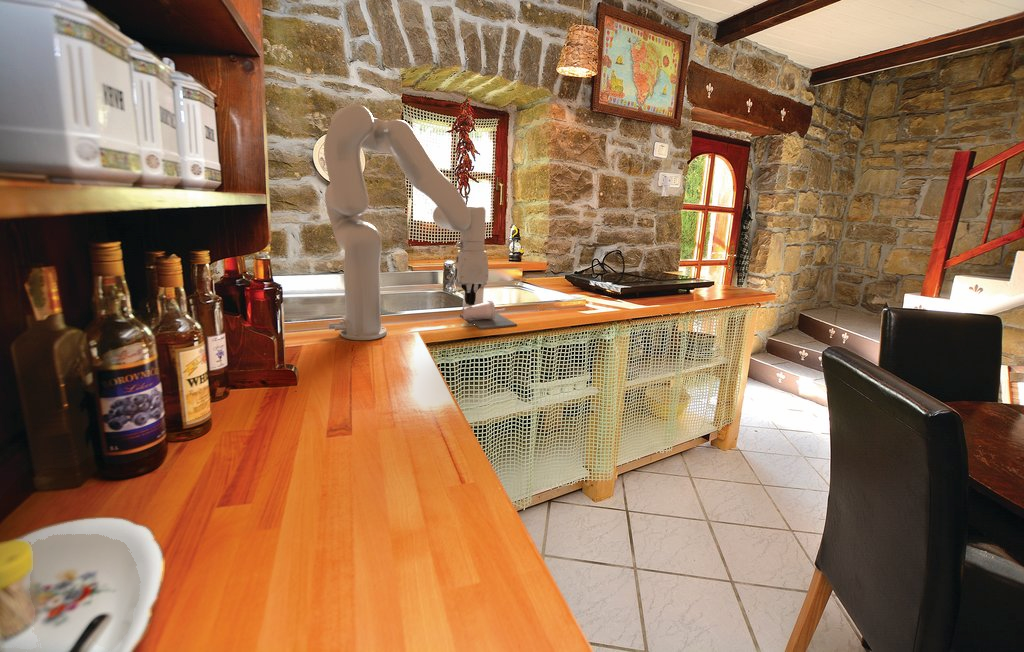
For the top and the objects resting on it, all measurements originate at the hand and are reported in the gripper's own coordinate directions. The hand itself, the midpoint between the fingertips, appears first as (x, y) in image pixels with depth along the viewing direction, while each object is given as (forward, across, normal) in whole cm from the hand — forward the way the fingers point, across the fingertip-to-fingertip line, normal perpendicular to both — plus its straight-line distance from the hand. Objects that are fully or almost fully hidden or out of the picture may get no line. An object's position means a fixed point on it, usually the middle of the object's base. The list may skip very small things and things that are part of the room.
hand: (470, 304), depth 153 cm
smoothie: (+3, -2, 0) cm, 4 cm away
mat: (+6, +7, 0) cm, 9 cm away
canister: (+6, +7, +13) cm, 16 cm away
